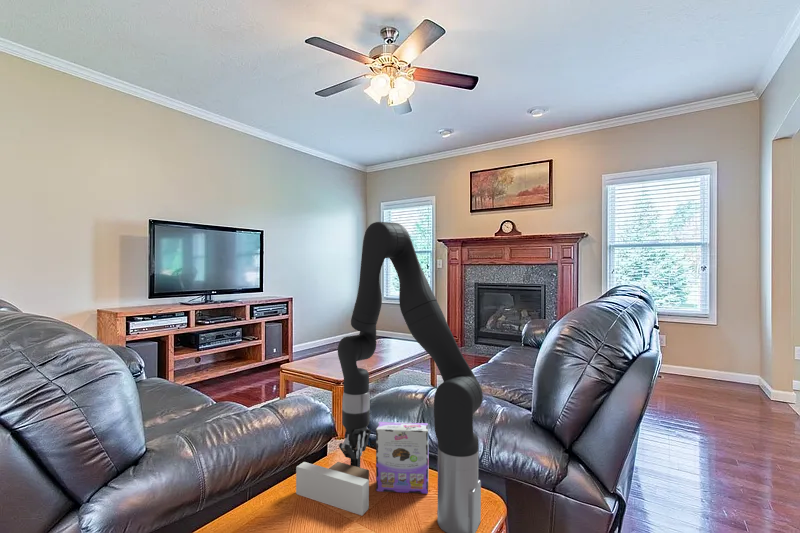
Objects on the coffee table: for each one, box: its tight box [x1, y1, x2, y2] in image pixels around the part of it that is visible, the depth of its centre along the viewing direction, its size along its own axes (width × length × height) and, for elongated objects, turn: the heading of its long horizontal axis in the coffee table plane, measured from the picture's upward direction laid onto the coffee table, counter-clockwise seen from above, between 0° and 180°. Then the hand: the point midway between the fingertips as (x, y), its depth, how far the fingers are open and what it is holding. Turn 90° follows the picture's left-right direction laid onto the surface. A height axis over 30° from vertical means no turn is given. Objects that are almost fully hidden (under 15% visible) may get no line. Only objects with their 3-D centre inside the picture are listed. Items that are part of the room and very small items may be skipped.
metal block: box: [328, 461, 370, 481], centre depth 104 cm, size 10×8×5 cm
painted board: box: [295, 461, 370, 516], centre depth 100 cm, size 20×3×7 cm, turn 64°
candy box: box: [375, 421, 430, 494], centre depth 106 cm, size 14×6×16 cm, turn 84°
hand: (355, 469), depth 110 cm, fingers closed
